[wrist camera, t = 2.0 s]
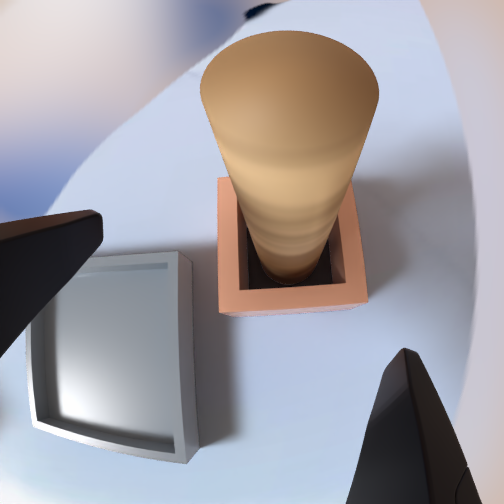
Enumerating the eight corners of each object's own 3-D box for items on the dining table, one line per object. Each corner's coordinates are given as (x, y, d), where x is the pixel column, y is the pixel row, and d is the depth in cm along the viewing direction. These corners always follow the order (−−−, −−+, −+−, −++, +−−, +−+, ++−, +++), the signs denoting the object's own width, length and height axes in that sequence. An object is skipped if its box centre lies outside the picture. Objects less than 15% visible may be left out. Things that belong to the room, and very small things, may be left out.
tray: (199, 448, 16) (186, 464, 13) (55, 420, 17) (32, 426, 15) (192, 262, 19) (178, 250, 17) (52, 270, 20) (29, 262, 18)
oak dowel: (319, 282, 18) (401, 145, 5) (261, 286, 18) (194, 156, 5) (314, 226, 19) (354, 30, 5) (258, 230, 19) (205, 39, 6)
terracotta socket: (350, 309, 17) (368, 302, 14) (233, 316, 18) (218, 312, 14) (338, 199, 19) (348, 168, 15) (230, 207, 20) (217, 177, 16)
